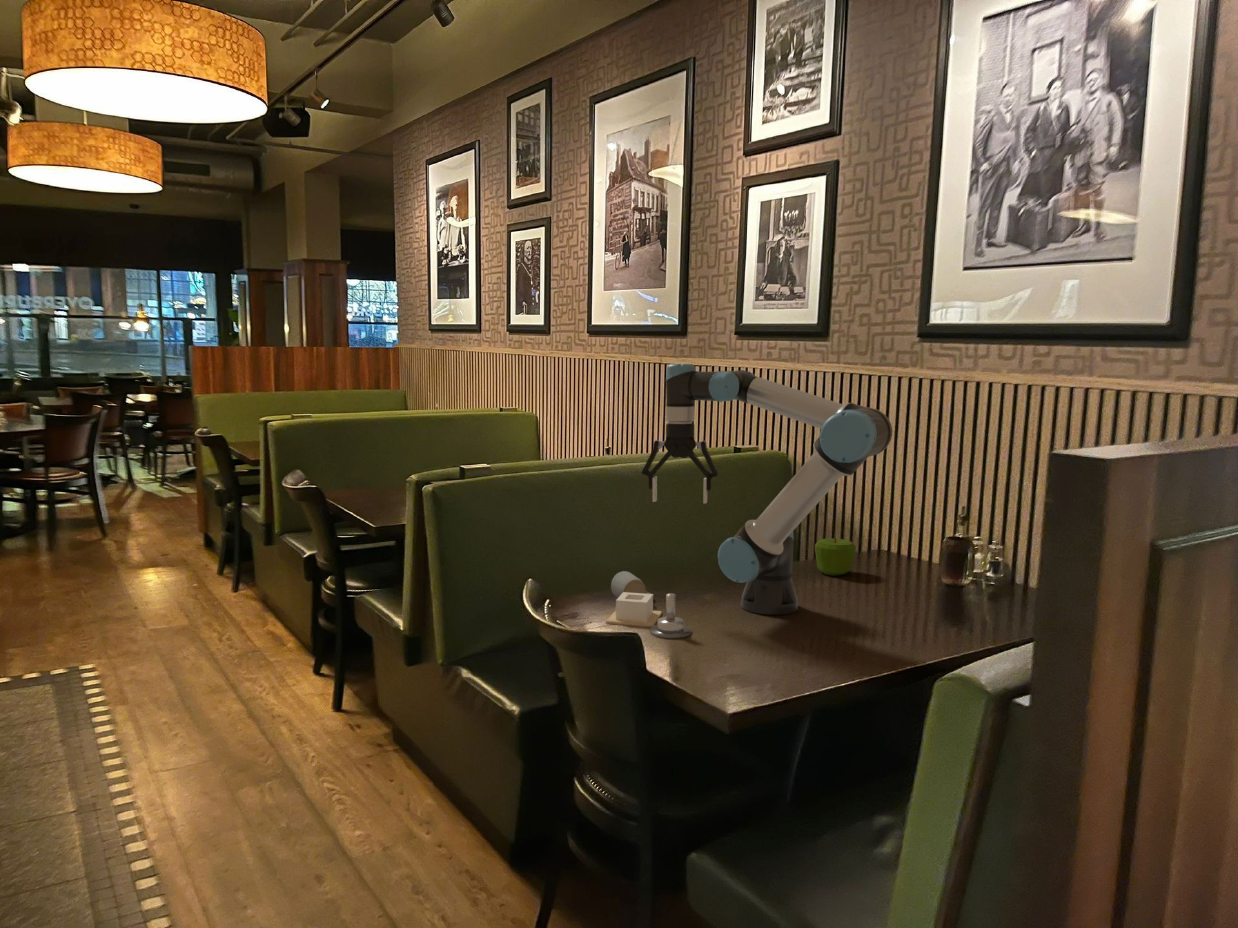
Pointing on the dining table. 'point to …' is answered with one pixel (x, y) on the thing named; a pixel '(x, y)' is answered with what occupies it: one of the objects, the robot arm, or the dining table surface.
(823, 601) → the dining table surface
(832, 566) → the apple
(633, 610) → the white hollow square block
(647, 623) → the mat
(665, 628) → the stand
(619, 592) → the ceramic mug
